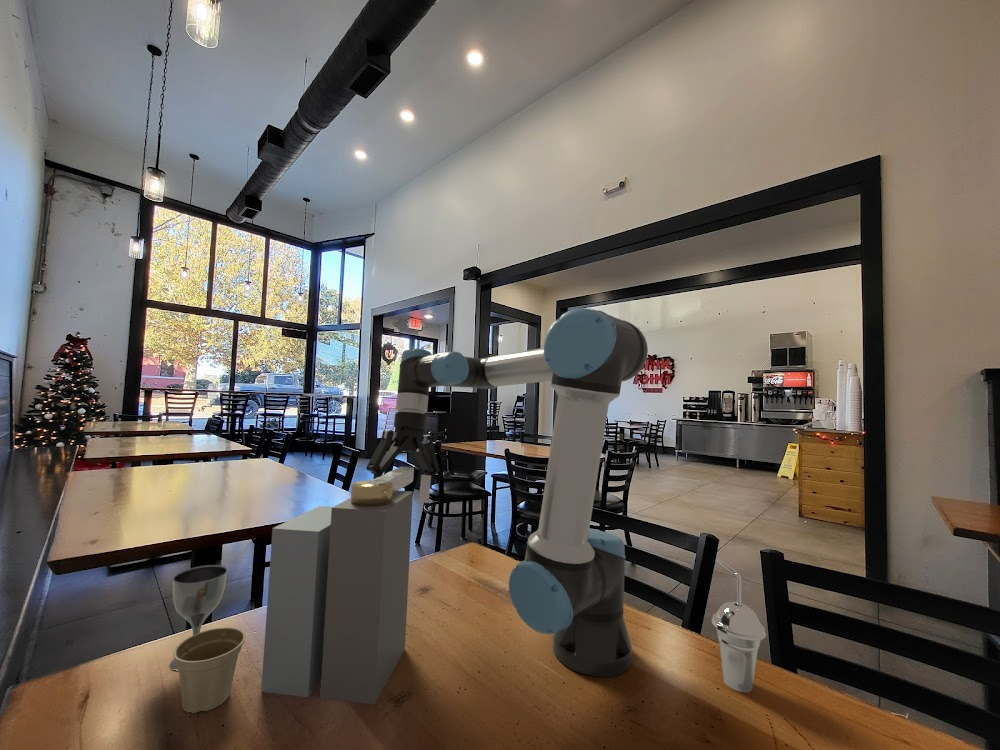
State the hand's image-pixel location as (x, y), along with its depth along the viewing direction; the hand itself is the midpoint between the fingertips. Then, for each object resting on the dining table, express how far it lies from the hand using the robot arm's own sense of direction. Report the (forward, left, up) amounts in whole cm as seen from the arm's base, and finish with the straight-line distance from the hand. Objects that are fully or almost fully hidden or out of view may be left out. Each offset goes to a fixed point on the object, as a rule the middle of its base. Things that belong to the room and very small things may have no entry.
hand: (402, 503), depth 99 cm
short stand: (+8, +22, -24) cm, 34 cm away
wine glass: (+29, +24, -24) cm, 45 cm away
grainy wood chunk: (-2, +16, +6) cm, 18 cm away
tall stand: (-2, +22, -24) cm, 33 cm away
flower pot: (+19, +33, -24) cm, 45 cm away
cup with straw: (-68, +15, -24) cm, 73 cm away
